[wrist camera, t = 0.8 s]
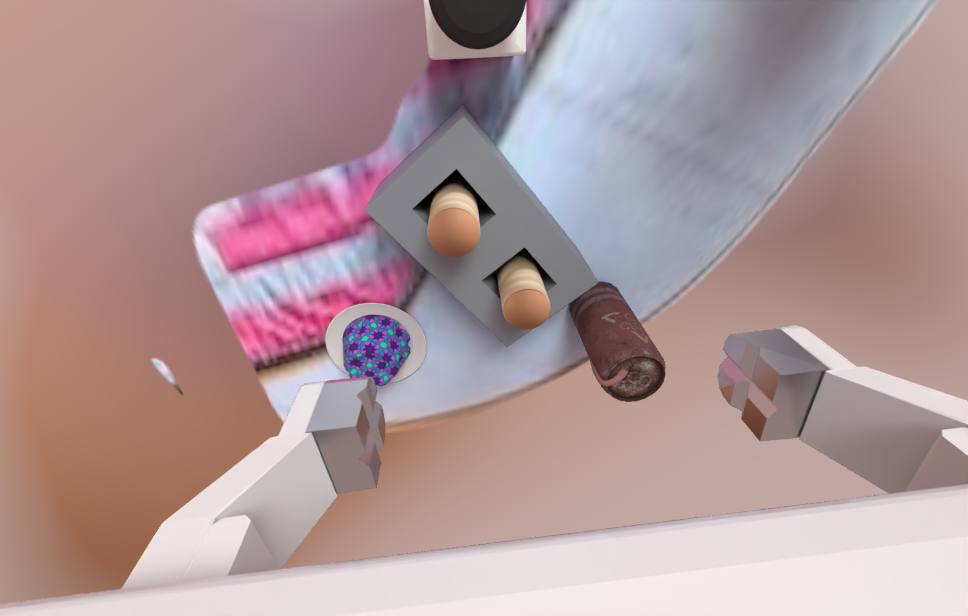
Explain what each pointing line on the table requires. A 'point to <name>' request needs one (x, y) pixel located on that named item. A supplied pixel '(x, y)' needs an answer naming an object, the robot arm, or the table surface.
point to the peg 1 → (454, 219)
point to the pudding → (376, 343)
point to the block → (503, 222)
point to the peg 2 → (522, 292)
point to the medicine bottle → (475, 28)
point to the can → (617, 344)
